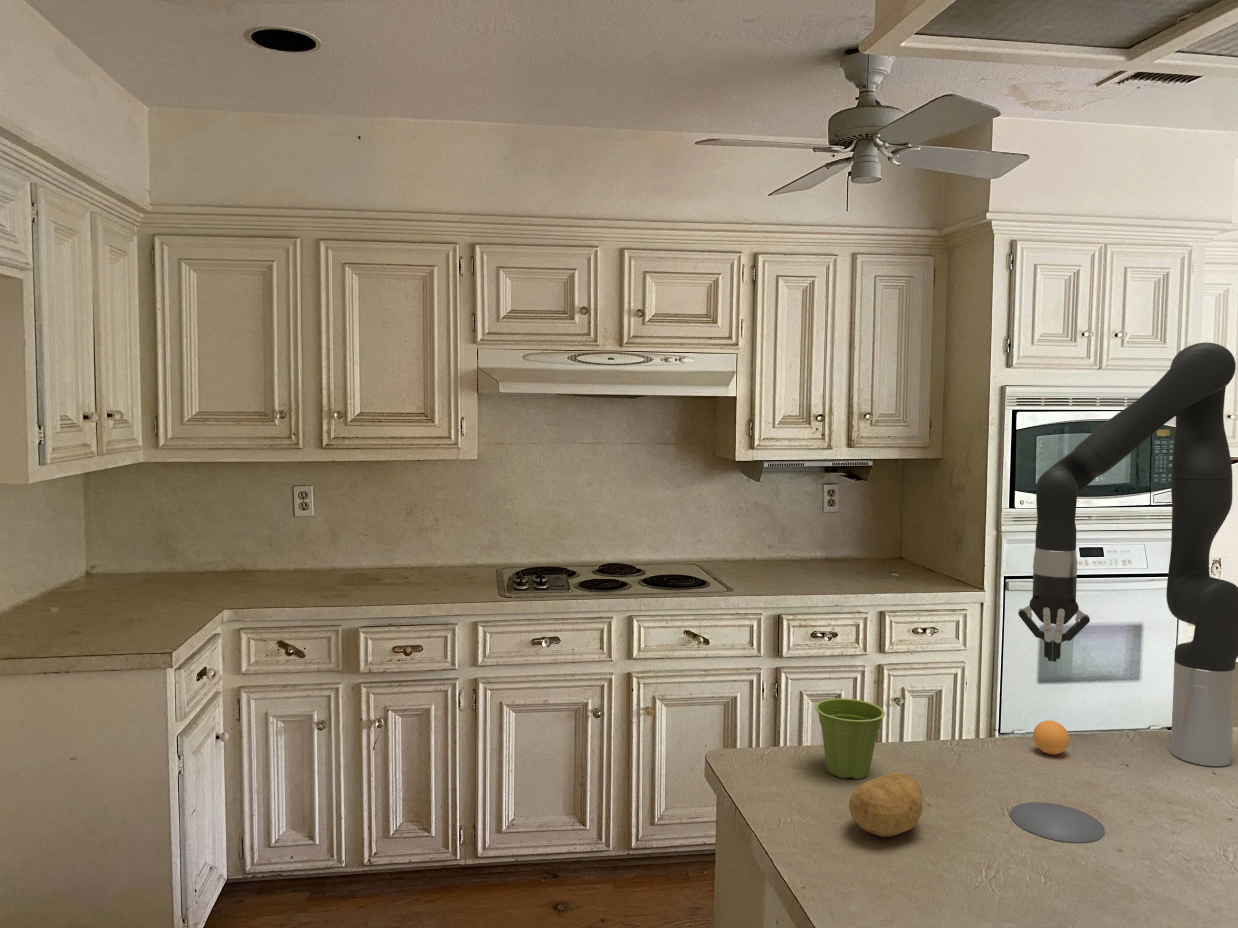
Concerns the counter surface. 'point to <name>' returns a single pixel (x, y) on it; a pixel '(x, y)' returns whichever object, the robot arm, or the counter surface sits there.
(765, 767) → the counter surface
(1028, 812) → the disc
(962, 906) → the counter surface
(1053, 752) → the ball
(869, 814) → the potato
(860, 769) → the plant pot
